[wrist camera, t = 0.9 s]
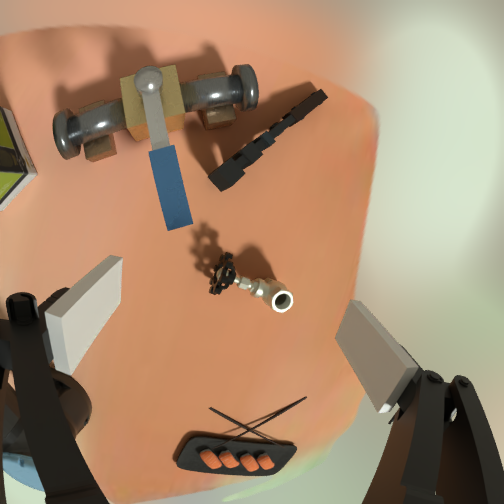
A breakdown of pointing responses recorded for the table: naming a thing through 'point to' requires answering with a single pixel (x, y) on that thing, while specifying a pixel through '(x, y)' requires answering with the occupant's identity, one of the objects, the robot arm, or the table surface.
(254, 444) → the sushi plate
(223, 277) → the valve
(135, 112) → the pipe run
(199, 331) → the table surface
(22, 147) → the tea box
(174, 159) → the lever
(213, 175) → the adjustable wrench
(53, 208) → the table surface
